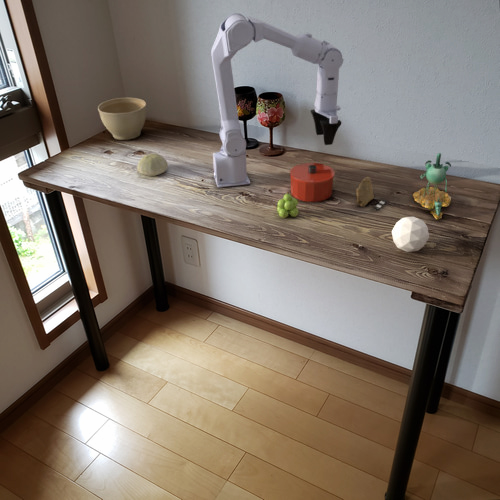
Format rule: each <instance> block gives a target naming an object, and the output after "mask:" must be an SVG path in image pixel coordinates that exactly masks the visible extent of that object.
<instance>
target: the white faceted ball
mask: <svg viewBox="0 0 500 500" xmlns="http://www.w3.org/2000/svg"><path fill="white" fill-rule="evenodd" d="M391 235H392V241H393V243H394V244H395V246H396V248H397V249H399V250H400V251H401V250H402V251H404V252H406V253H411V252H418V251H420V250H421V249H422V248H424V247H425V245H426V243H427V242H428V240H429V238H430V234H429V228H428V225H427V224H426V223H425V222H424V220H423V219H421V218H418V217H416V216H406V217H402V218H400V219H399V220H398V221H397V222H396V223H395V225H394V226H393V228H392V230H391Z"/></svg>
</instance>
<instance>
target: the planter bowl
mask: <svg viewBox="0 0 500 500" xmlns="http://www.w3.org/2000/svg"><path fill="white" fill-rule="evenodd" d="M97 111H98V113H99V117H100V119H101V122H102V124H103V125H104V127H105V128H106V130H108V132H109V133H110V134H111V135H112V137H113V138H114V139H115V140H120V141H127V140H128V141H129V140H133V139H136V138H138V137H140V136H141V132H142V130H143V127H144V125H145V122H146V118H147V102H146V101H145V100H143V99H141V98H137V97H117V98H112V99H109V100H106V101H103V102H101V103H100V104H98V106H97Z"/></svg>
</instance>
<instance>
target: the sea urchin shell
mask: <svg viewBox="0 0 500 500" xmlns="http://www.w3.org/2000/svg"><path fill="white" fill-rule="evenodd" d="M168 168H169V164H168V161H167V159H166V158H165V157H164V156H162V155H161V154H158V153H149V154H146V155H144V156H142V157H141V158H140V159H139V160H138V162H137V165H136V169H137V172H138V173H139V174H140V175H143V176H148V177H156V176H157V175H159V176H160V175H161V174H163V173H165V172H166V171H167V170H168Z"/></svg>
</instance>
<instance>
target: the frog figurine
mask: <svg viewBox="0 0 500 500" xmlns="http://www.w3.org/2000/svg"><path fill="white" fill-rule="evenodd" d="M441 158H442V153H441V152H439V153H437V154H436V158H435V159H436V160H435V163H432V160H427V161H425V162H424V166H425V171H424V173H423V174H420V176H419V177H420V179H421V180H422V179H423V178H424V177H425V178H426V180H427V182H428V183H427V185H426V187H422V188H421V189H419V190H417V191H415V192H413V193H412V197H413V199H414V201H415V202H416V203H418V204H420V205H421V207H423V208H425V209H428V210H431V211H430V214H432V216H433V217H434V218H435V220H440V219H442V218H443V217H442V215H443V214H444V213H443V212H442V211H441V210H442V208H444V207H445V208H447V207H449V206H450V204H451V200H452V196H450V195H449V193H447V190H448V189H447V185H448V184H447V183H448V180H447V172H448V171H449V168H450V167H452V164H451V163H450V162H449V161H446V162H445V163H444V164H445V165H444V164H443V163H441ZM444 181H445V188H444V191H443V190H440V189H439V188H438V185H440V184H442V183H443V182H444ZM430 184H432V185H434V187H433V186H430Z"/></svg>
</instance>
